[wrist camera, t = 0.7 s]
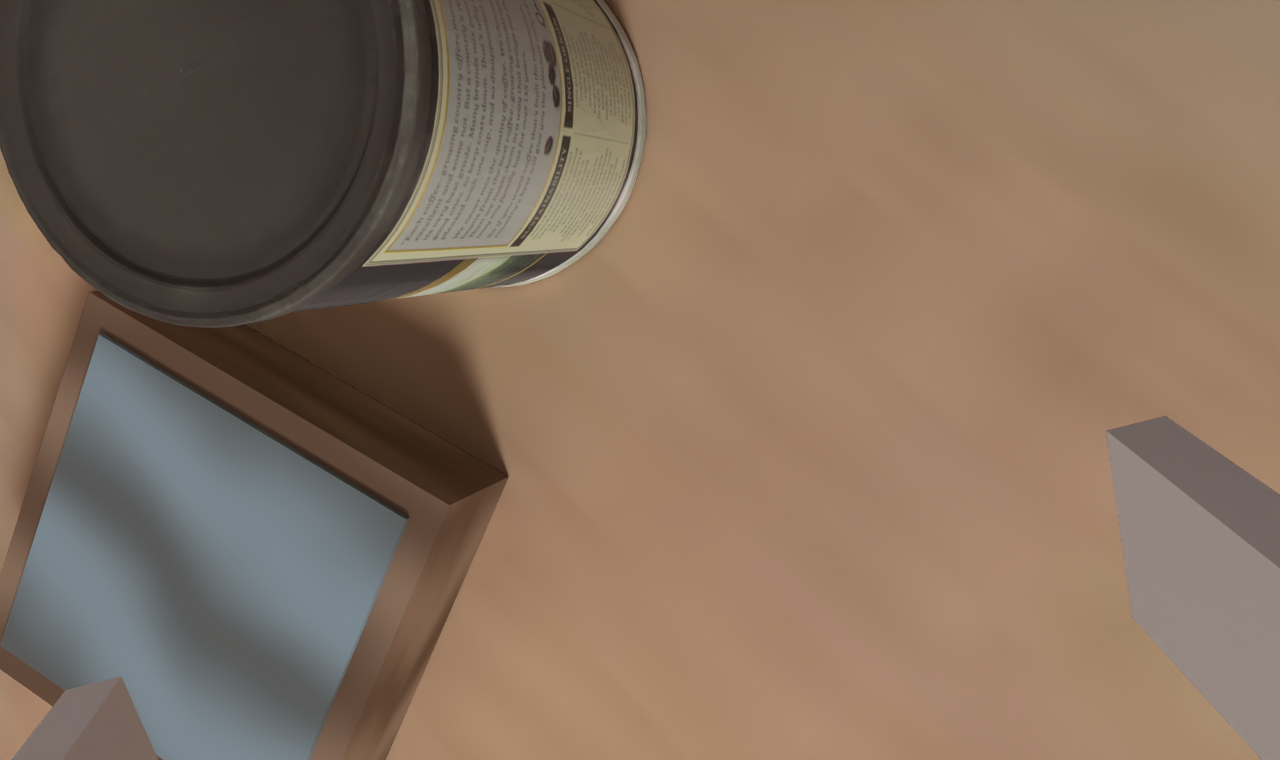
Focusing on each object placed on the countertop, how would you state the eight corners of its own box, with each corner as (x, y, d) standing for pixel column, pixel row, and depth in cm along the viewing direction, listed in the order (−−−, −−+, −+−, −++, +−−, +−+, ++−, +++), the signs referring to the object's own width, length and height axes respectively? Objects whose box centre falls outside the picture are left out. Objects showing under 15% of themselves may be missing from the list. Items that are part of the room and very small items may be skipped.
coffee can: (477, 354, 38) (172, 427, 24) (295, 106, 39) (-94, 46, 25) (721, 143, 34) (518, 95, 21) (513, -124, 35) (195, -331, 22)
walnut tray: (176, 285, 41) (84, 292, 37) (508, 477, 38) (446, 506, 34) (65, 615, 45) (-29, 653, 41) (360, 816, 41) (288, 879, 37)
